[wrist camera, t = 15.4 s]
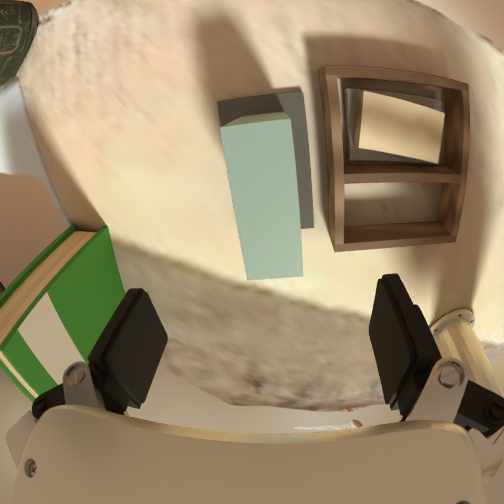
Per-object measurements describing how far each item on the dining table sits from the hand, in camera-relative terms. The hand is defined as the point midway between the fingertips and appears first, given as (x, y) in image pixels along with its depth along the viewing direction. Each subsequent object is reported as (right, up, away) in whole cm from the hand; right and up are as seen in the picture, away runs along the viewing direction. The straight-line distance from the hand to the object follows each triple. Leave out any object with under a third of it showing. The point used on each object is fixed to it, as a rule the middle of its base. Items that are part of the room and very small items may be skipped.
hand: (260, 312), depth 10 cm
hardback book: (-25, -1, +30) cm, 39 cm away
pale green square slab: (+2, +12, +18) cm, 22 cm away
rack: (+16, +14, +16) cm, 27 cm away
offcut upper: (+15, +16, +14) cm, 26 cm away
